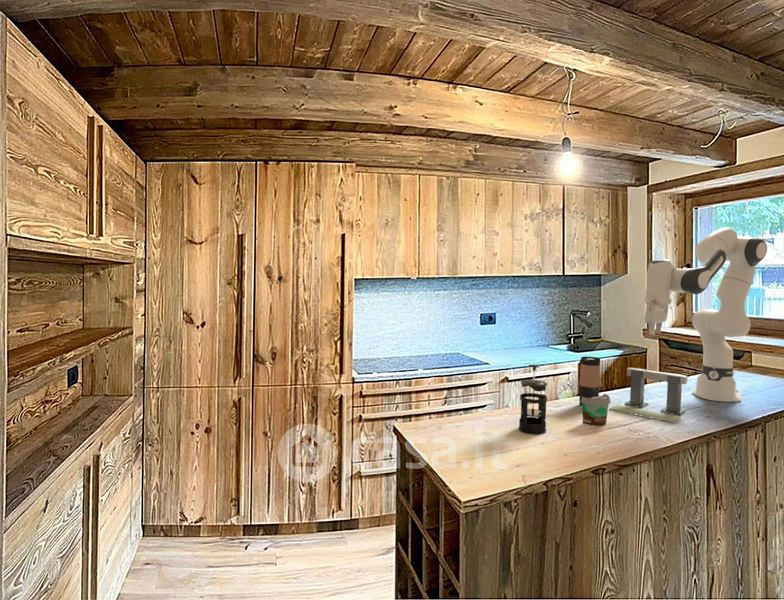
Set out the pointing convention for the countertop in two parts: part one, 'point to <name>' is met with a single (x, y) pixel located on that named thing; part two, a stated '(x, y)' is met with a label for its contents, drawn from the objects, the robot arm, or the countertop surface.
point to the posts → (672, 392)
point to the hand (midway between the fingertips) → (654, 333)
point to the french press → (532, 423)
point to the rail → (657, 375)
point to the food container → (595, 410)
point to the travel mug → (589, 377)
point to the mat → (645, 413)
